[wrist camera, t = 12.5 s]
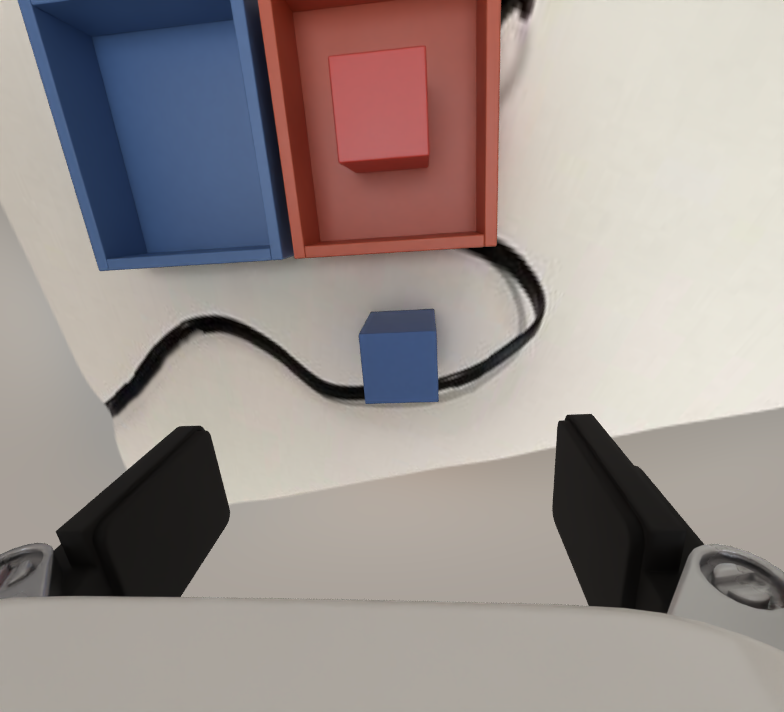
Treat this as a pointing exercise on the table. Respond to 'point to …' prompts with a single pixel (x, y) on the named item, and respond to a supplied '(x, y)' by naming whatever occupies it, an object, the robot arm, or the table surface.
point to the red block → (381, 109)
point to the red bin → (445, 114)
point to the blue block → (399, 357)
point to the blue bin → (165, 128)
